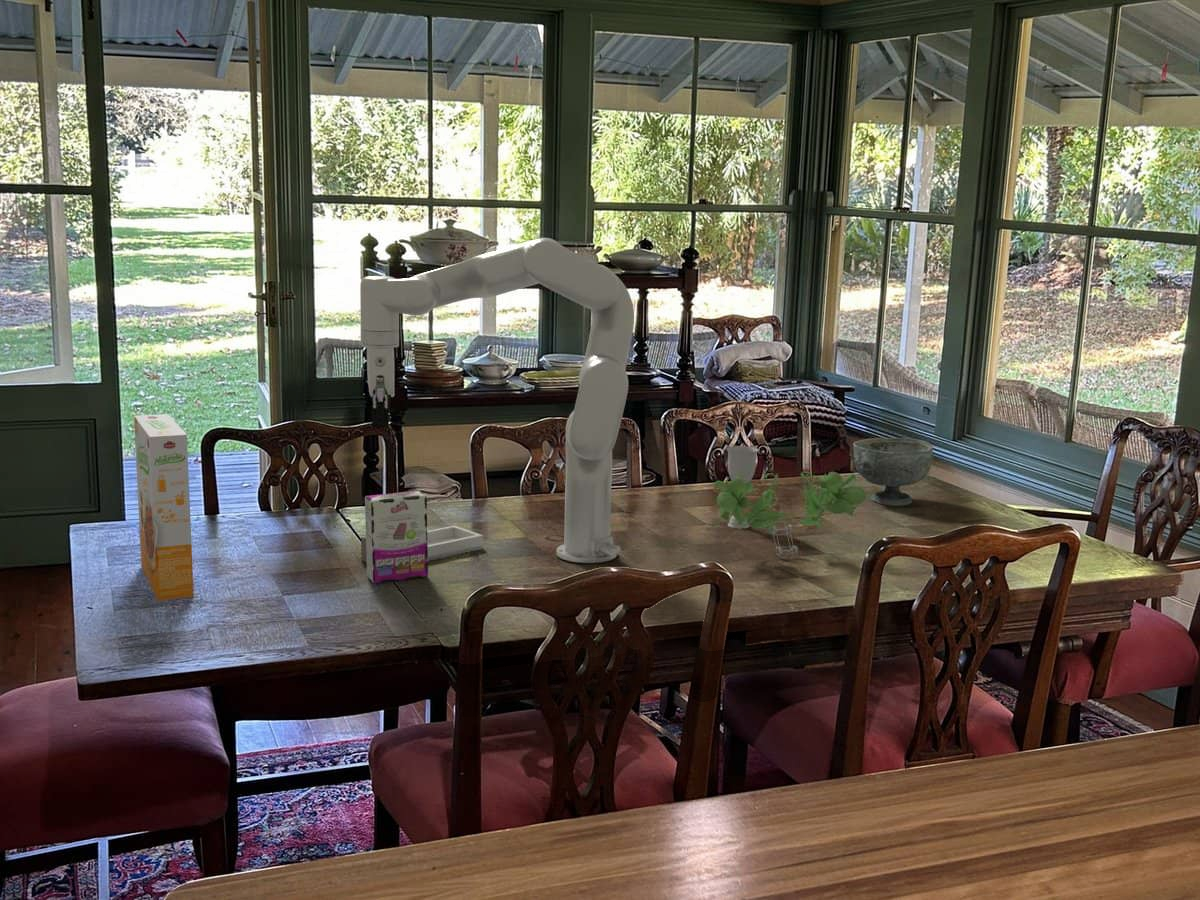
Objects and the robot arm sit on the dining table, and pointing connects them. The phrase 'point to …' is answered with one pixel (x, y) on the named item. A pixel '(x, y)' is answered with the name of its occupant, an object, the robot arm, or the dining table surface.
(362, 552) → the brick
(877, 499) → the bowl
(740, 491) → the plant cuttings
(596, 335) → the robot arm
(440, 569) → the dining table surface
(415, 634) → the dining table surface
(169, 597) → the cereal box
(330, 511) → the dining table surface
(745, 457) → the chalice
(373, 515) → the candy bar box
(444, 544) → the tray
